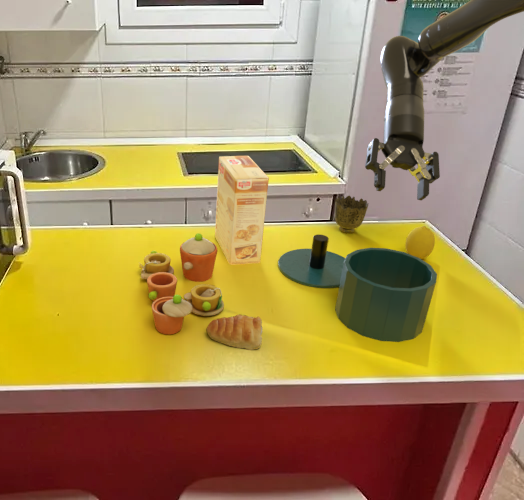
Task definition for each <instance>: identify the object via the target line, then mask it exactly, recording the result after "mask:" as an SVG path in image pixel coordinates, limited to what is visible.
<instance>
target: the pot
mask: <svg viewBox="0 0 524 500" xmlns="http://www.w3.org/2000/svg"><path fill="white" fill-rule="evenodd" d="M344 258H345V260H344V264H343V269H342V275H341V280H340V286H339V287H338V293H337V297H336V303H335V309H334V310H335V313H336V316H337V319H338V320H339V321H340V322H341V323H342V324H343V325H344V326H345V327H346V328H347V329H349V330H350V331H353V332H354V333H357V334H358V335H360V336H362V337H365V338H369V339H372V340H376V341H380V342H391V343H401V342H406V341H411V340H414V339H415V338H417V337H418V336H419V335H421V334H422V333H423V331H424V327H425V323H426V320H427V316H428V312H429V308H430V307H431V306H430V305H431V302H432V298H433V295H434V292H435V287H436V285H437V278H438V274H437V272H436V270H435V269H434V268H433V266H432V265H431V264H429V263H427V262H426V261H425V260H423V259H420V258H418V257H415V256H413V255H410V254H408V253H407V252H405V251H400V250H396V249H390V248H385V247H366V248H361V249H360V248H359V249H355V250H354V251H351V252H350V253H348V254H346V256H345V257H344Z"/></svg>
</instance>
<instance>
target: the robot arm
mask: <svg viewBox="0 0 524 500" xmlns="http://www.w3.org/2000/svg"><path fill="white" fill-rule="evenodd" d="M523 12H524V0H469V1H467V2H466V3H464V4H463V5H461V6H459V7H458V8H456V9H454V10H453V11H451V12H450V13H447V14H446V15H444V16H443V17H441V18H439V19H438V20H436V21H434V22H433V23H431V24H429V25H427V26H426V27H425V28H423V29H422V31H421V32H420V34H419V36H418V40H417V41H415V40H413V39H411V38H409V37H408V36H405V35H396V36H393V37H391V38H390V39H389V40H388V41H387V42H386V43H385V44H384V46H383V48H382V50H381V53H380V57H379V58H380V59H379V62H380V63H379V64H380V70H381V74H382V76H383V82H384V85H385V88H386V107H385V111H384V117H383V139H382V141H383V142H381V141H380V139H379V138H377V137H374V138H373V139H372V140H371V141H370V143H368V144H367V149H366V157H365V163H364V167H365V169H366V170H368V171H372V172H373V174H374V177H373V186H374V188H375V191H376V192H381V191H383V190H384V189H385V187H386V178H387V177H386V175H387V170H385V169H386V168H387V167H388V166H389V165H390V166H391V167H392V168H394V169H401V170H403V171H408V172H409V173H410V175H411V176H412V177H414V178H415V180H416V181H417V185H416V187H417V189H416V190H417V191H416V199H417V200H418V201H423V200H425V199H426V198H427V197H428V196H429V195H430V185H431V184H433V183H434V182H435V181H437V180H438V179H439V178H440V177H441V173H440V171H441V170H440V156H439V153H438V152H437V151H433V152H432V153H430V152H425V150H424V148H423V146H424V142H425V106H424V89H425V88H424V82H423V80H422V77H424V76H425V75H426V74H428V73H429V72H430V71H431V70H432V69H433V68H434V67H435V66H437V64H439V63H440V62H441V61H442V60H443V59H445V57H448V56H450V55H451V54H454V53H455V52H457V51H460V50H461V49H463V48H465V47H467V46H469V45H470V44H472V43H473V42H475V41H477V39H479V38H480V37H481V36H482V35H483V34H484V33H485V32H486V31H487V30H488V29H489V28H491V27H492V26H494V25H495V24H497V23H498V22H500V21H502V20H505V19H507V18H509V17H512V16H514V15H517V14H521V13H523ZM380 151H381V152H382V154H383V155H384V157H385V159H384V160H383V161H382V162H380V163H379V162H378V156H379V152H380ZM416 166H417V168H416Z"/></svg>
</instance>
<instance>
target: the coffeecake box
mask: <svg viewBox="0 0 524 500" xmlns="http://www.w3.org/2000/svg"><path fill="white" fill-rule="evenodd" d="M217 168H218V169H217V170H218V171H217V189H216V207H215V223H214V237H215V240H216V242H217V243H218V245H219V247H220V249H221V252H222V253H223V255H224V257H225V259H226V261H227V263H228V265H229V266H232V265H249V264H260V263H261V261H262V260H261V259H262V249H263V241H264V240H263V237H264V228H265V221H266V220H265V219H266V208H267V198H268V190H269V181H270V177H269V176H268V175H267V174H266V173H265V172H264V171H263V170H262V169H261V168H260V166H259V165H258V164H257V163H256V162H255V161H254V160H253V159H252V158H251V156H249V155H231V156H230V155H224V156H222V155H221V156H219V157H218V167H217Z"/></svg>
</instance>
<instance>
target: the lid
mask: <svg viewBox="0 0 524 500" xmlns="http://www.w3.org/2000/svg"><path fill="white" fill-rule="evenodd" d="M329 239H330V238H329V236H327V235H325V234H314V235H313V237H312V243H311V248H297V249H293V250H289V251H286V252H285V253H282V255H280V256H279V257H278V262H277V266H278V270H279V271H280V272H281V274H282V275H283V276H285V278H287V279H289V280H290V281H292V282H295V283H297V284H300V285H303V286H307V287H311V288H319V289H334V288H339V286H340V280H341V275H342V269H343V264H344V260H345V258H346V257H344V256H342V255H340V254H338V253H335V252H333V251H329V250H328V247H329Z"/></svg>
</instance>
